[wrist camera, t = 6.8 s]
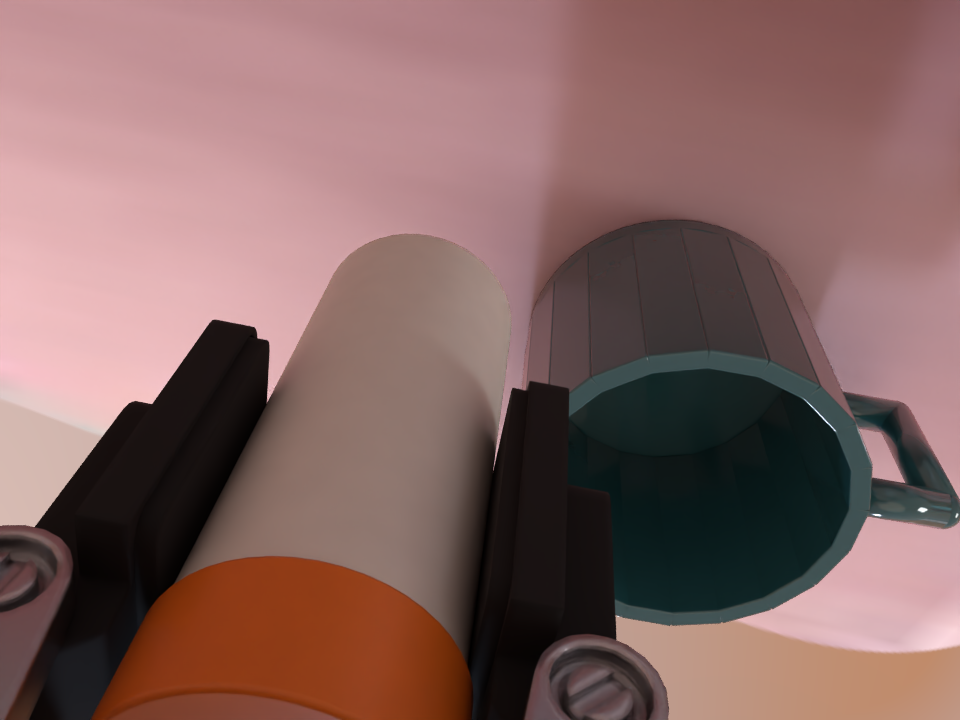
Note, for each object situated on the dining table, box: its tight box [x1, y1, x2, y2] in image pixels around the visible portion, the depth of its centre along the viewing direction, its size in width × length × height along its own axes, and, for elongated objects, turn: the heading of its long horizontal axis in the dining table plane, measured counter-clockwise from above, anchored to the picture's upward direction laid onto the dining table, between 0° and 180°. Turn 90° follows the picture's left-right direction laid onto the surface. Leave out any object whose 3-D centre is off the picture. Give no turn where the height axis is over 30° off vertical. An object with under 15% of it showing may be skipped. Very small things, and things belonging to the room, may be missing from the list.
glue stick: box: [91, 234, 511, 720], centre depth 12 cm, size 3×3×9 cm
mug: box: [521, 220, 960, 626], centre depth 31 cm, size 14×10×9 cm
